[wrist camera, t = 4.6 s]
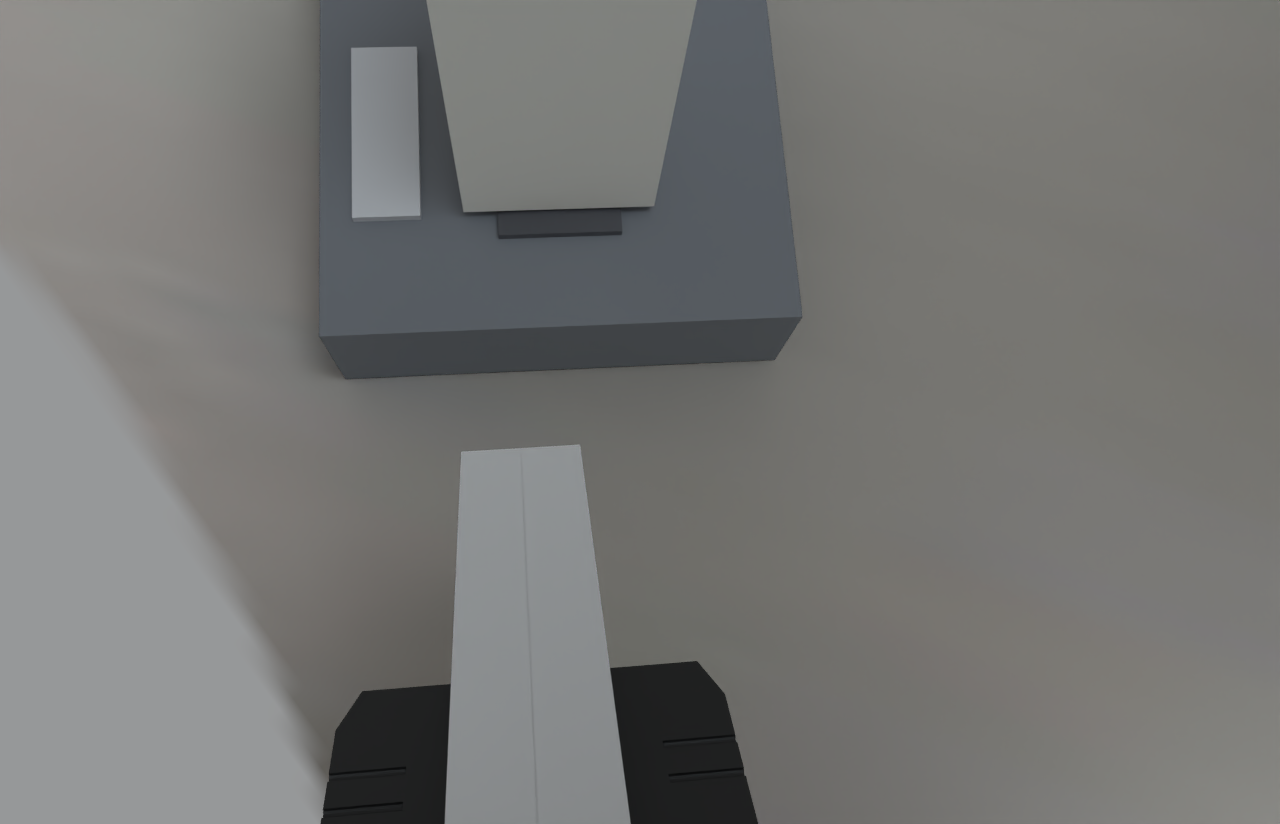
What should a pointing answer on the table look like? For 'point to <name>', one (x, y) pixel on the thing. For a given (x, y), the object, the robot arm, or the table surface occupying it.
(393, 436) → the table surface
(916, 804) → the table surface
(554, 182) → the switch tab
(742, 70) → the switch panel
